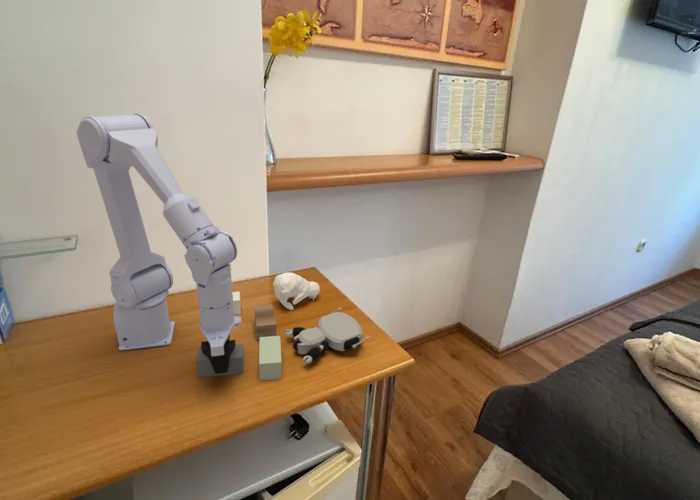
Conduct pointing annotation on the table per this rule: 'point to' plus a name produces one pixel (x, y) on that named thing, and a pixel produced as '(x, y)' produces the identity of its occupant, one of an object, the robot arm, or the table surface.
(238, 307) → the off-white brick
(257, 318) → the walnut brick
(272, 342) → the sage brick
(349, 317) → the robot toy
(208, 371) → the charcoal brick
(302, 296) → the white animal figurine
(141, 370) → the table surface
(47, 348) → the table surface
